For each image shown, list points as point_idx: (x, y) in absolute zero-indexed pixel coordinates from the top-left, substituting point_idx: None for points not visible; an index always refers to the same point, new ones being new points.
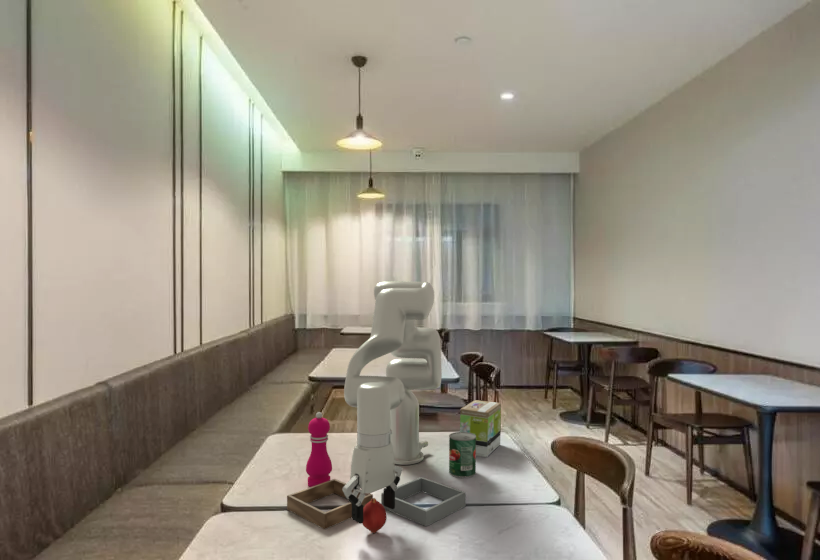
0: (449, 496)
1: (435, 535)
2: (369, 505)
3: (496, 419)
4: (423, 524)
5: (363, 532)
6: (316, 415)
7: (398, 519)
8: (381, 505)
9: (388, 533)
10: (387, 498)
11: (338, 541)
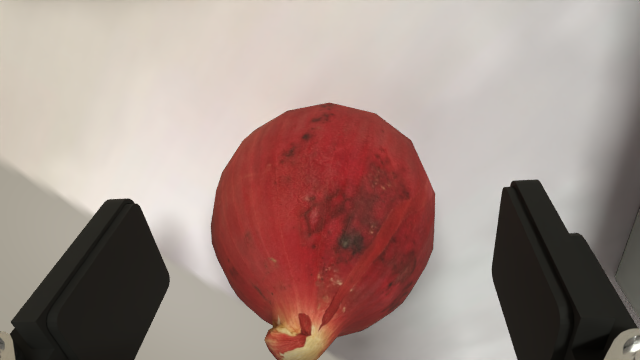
0: None
1: None
2: (252, 302)
3: None
4: (623, 266)
5: (281, 97)
6: None
7: (610, 111)
8: (368, 326)
9: None
10: (522, 290)
11: (82, 85)
